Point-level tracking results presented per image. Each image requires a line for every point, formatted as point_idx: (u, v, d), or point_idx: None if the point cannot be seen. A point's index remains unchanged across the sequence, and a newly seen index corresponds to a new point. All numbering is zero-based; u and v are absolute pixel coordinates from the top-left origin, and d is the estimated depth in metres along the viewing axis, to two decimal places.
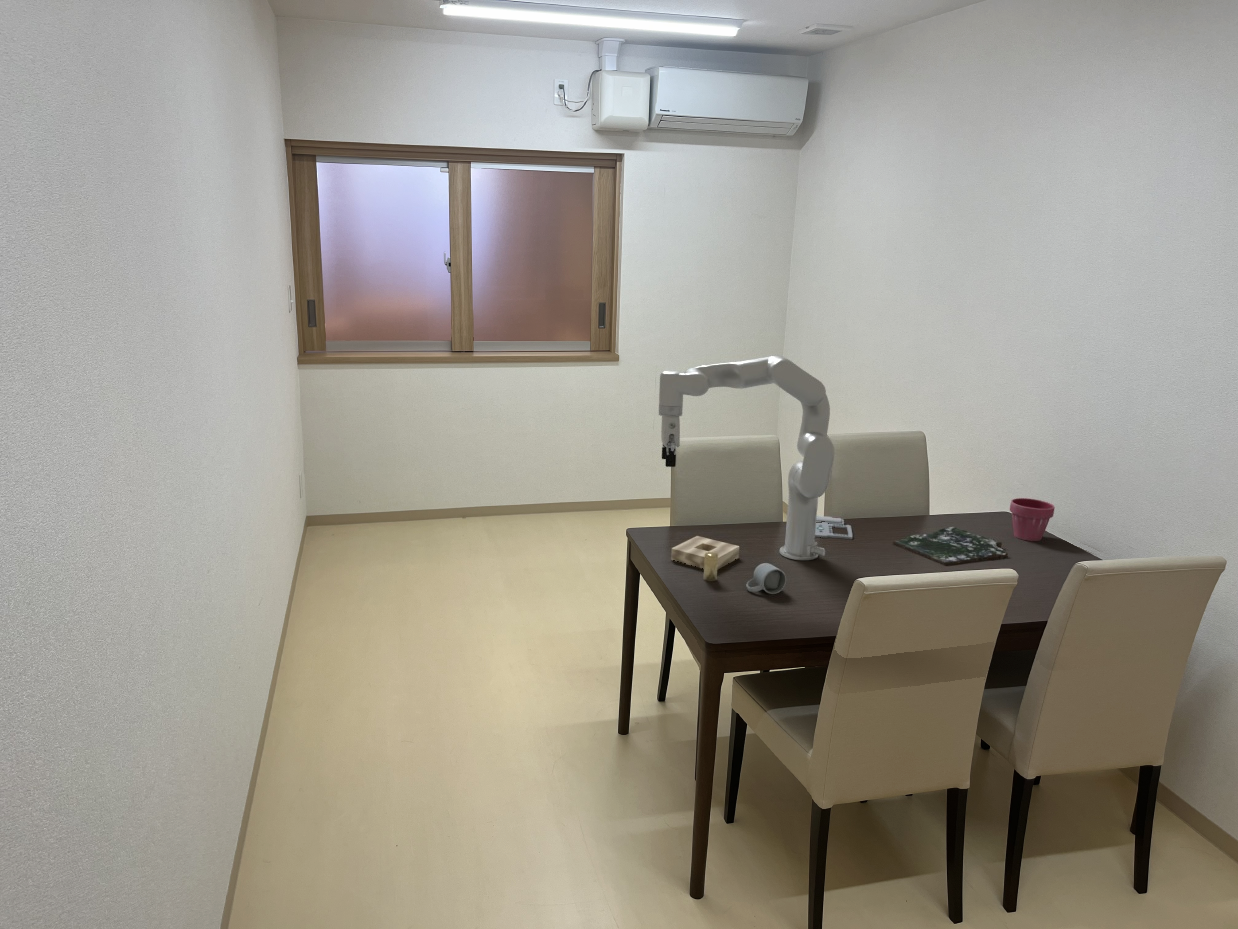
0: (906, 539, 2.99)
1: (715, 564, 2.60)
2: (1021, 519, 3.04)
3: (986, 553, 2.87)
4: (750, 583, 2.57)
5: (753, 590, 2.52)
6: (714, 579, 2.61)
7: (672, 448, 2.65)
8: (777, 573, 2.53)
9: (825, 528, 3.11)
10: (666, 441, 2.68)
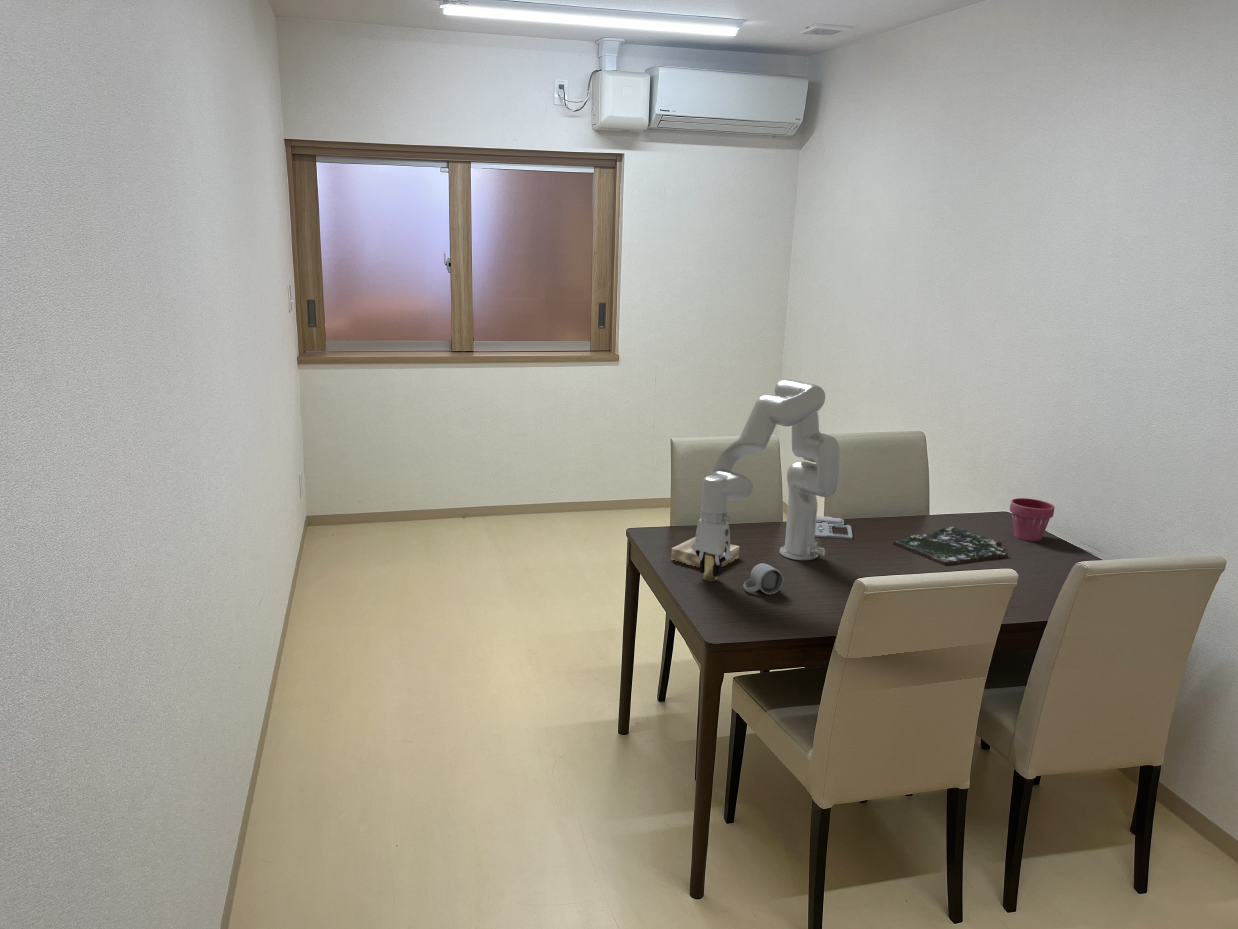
0: (906, 539, 2.99)
1: None
2: (1021, 519, 3.04)
3: (986, 553, 2.87)
4: (747, 583, 2.56)
5: (750, 590, 2.52)
6: (714, 579, 2.61)
7: None
8: (774, 573, 2.53)
9: (825, 528, 3.11)
10: None
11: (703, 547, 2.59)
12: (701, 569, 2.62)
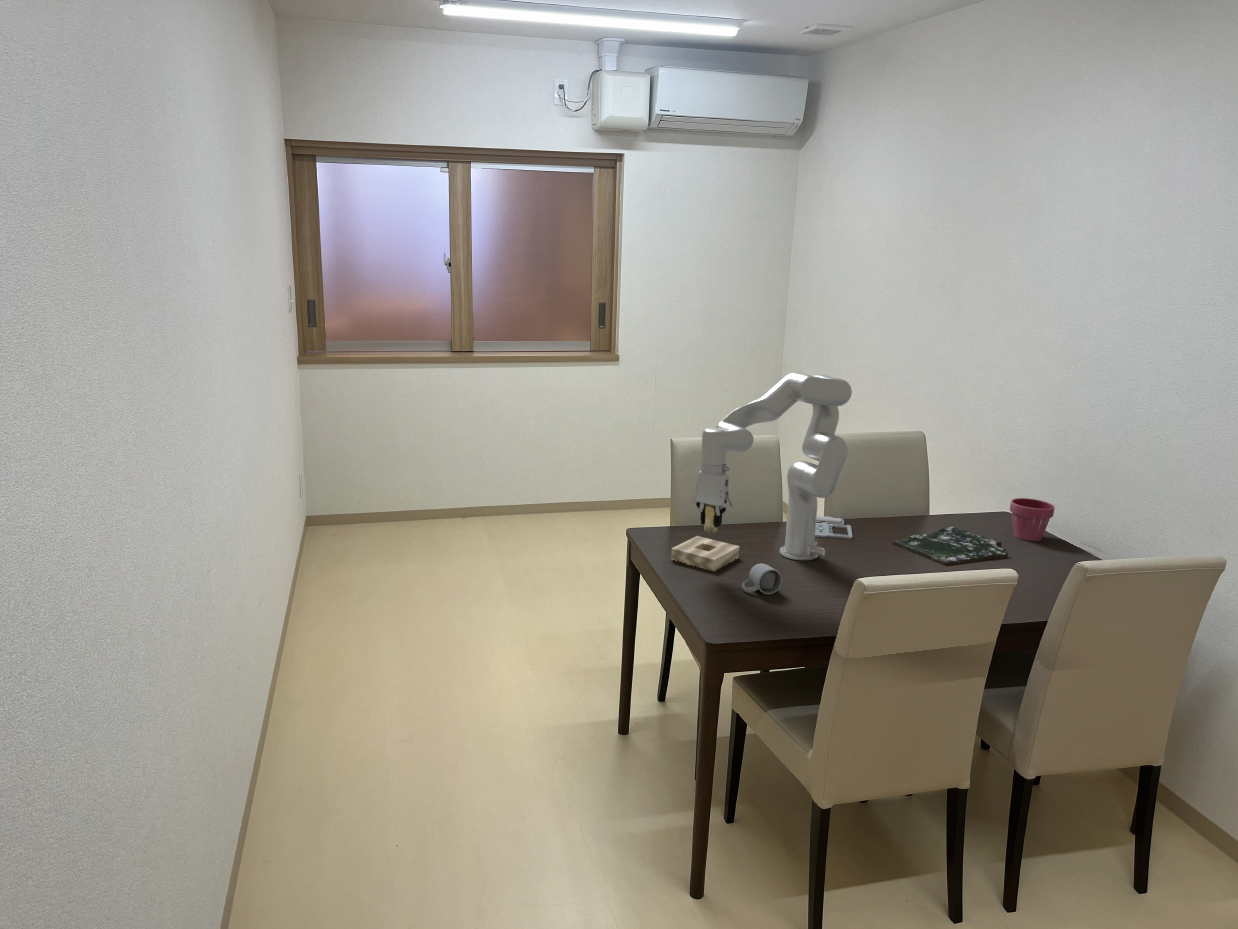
0: (906, 539, 2.99)
1: None
2: (1021, 519, 3.04)
3: (986, 553, 2.87)
4: (746, 583, 2.56)
5: (749, 590, 2.52)
6: (715, 530, 2.66)
7: (727, 509, 2.62)
8: (773, 573, 2.53)
9: (825, 528, 3.11)
10: None
11: (703, 498, 2.64)
12: (702, 520, 2.67)
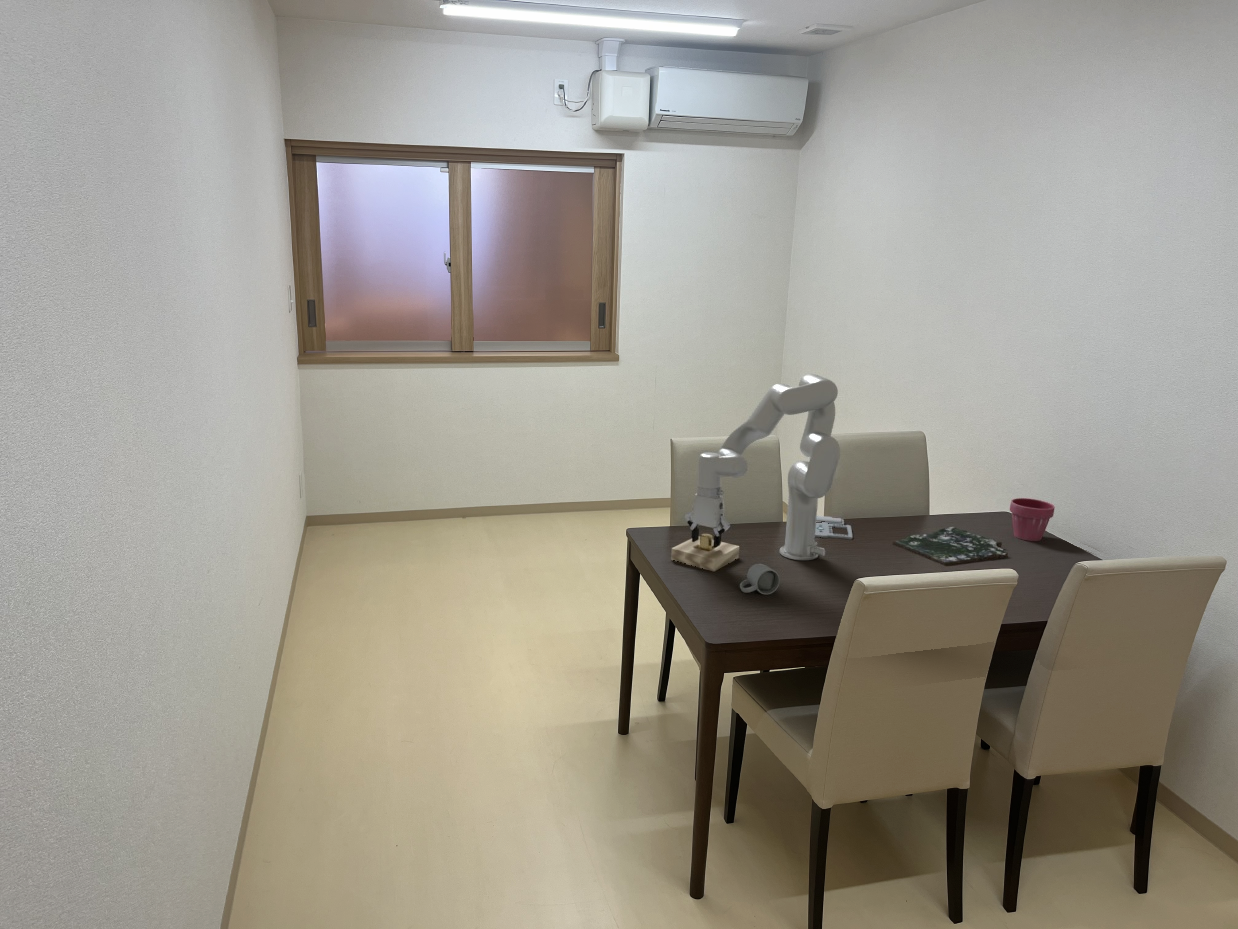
0: (906, 539, 2.99)
1: (710, 545, 2.77)
2: (1021, 519, 3.04)
3: (986, 553, 2.87)
4: (744, 584, 2.56)
5: (746, 591, 2.52)
6: None
7: (726, 529, 2.72)
8: (771, 574, 2.53)
9: (825, 528, 3.11)
10: (717, 523, 2.72)
11: (699, 520, 2.75)
12: (693, 538, 2.79)
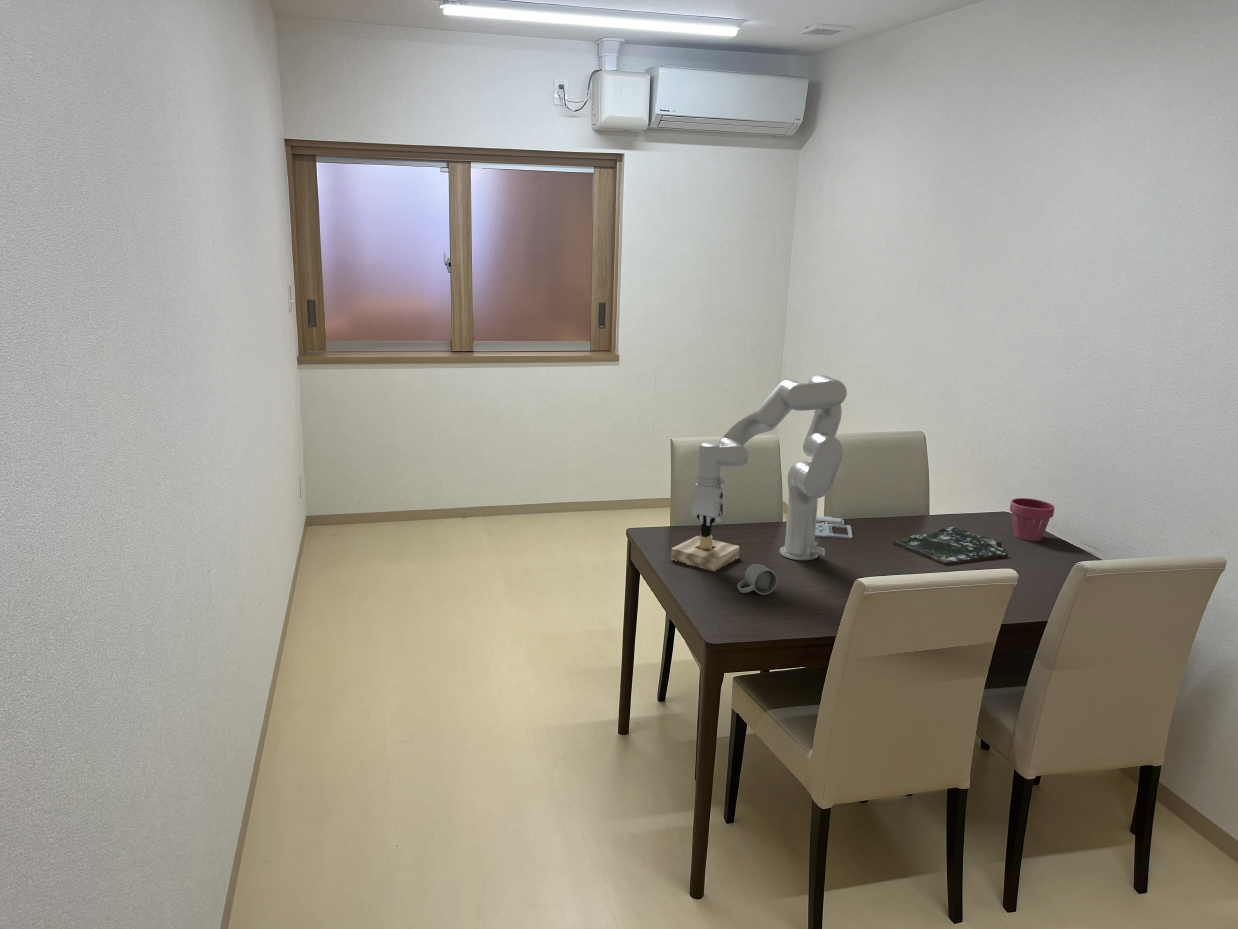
0: (906, 539, 2.99)
1: (710, 545, 2.77)
2: (1021, 519, 3.04)
3: (986, 553, 2.87)
4: (741, 584, 2.56)
5: (744, 591, 2.52)
6: None
7: None
8: (768, 574, 2.52)
9: (825, 528, 3.11)
10: (713, 517, 2.72)
11: (699, 510, 2.74)
12: (702, 532, 2.76)
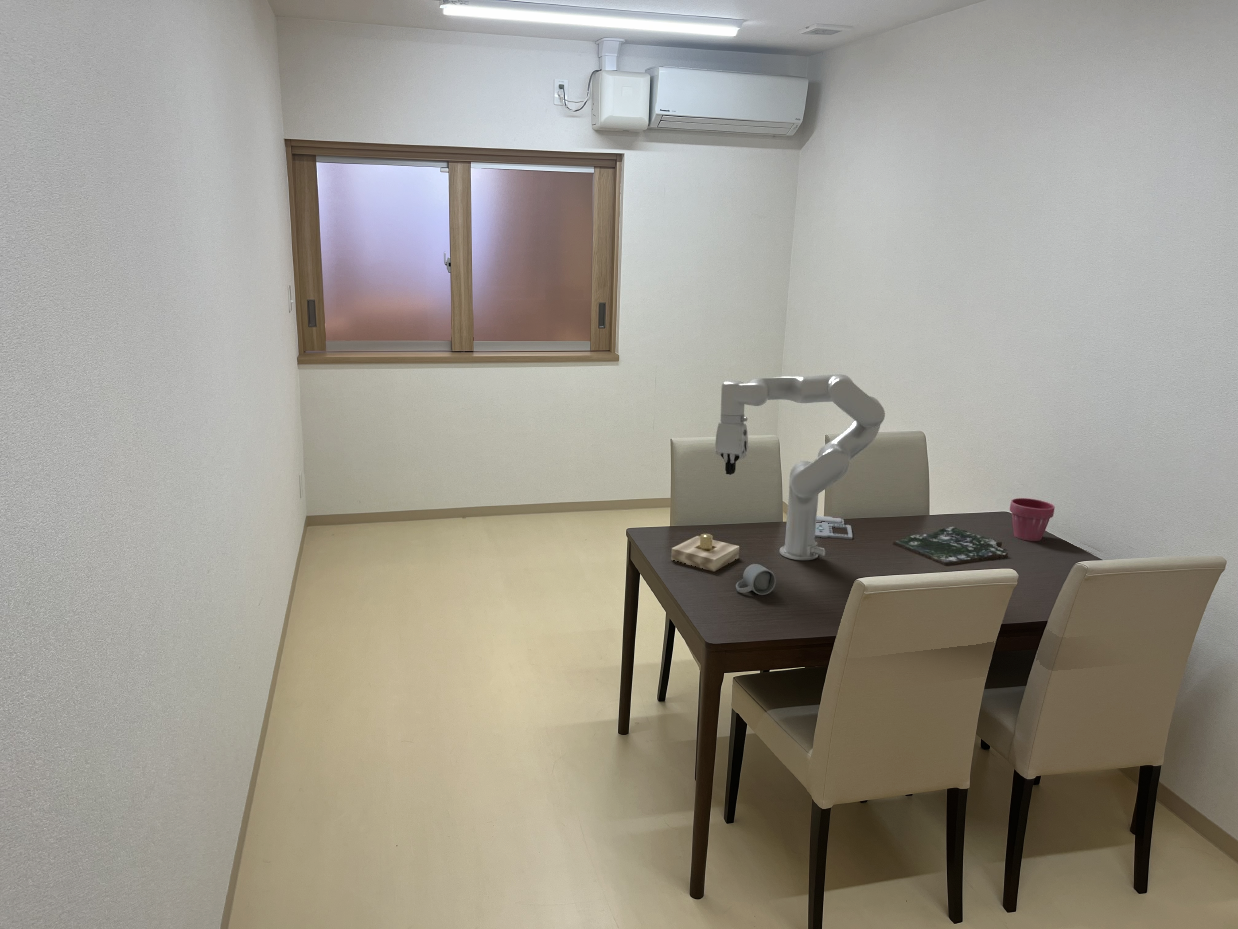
0: (906, 539, 2.99)
1: (710, 545, 2.77)
2: (1021, 519, 3.04)
3: (986, 553, 2.87)
4: (740, 584, 2.56)
5: (742, 591, 2.52)
6: None
7: None
8: (767, 574, 2.52)
9: (825, 528, 3.11)
10: (738, 454, 2.78)
11: (723, 448, 2.80)
12: (727, 470, 2.82)
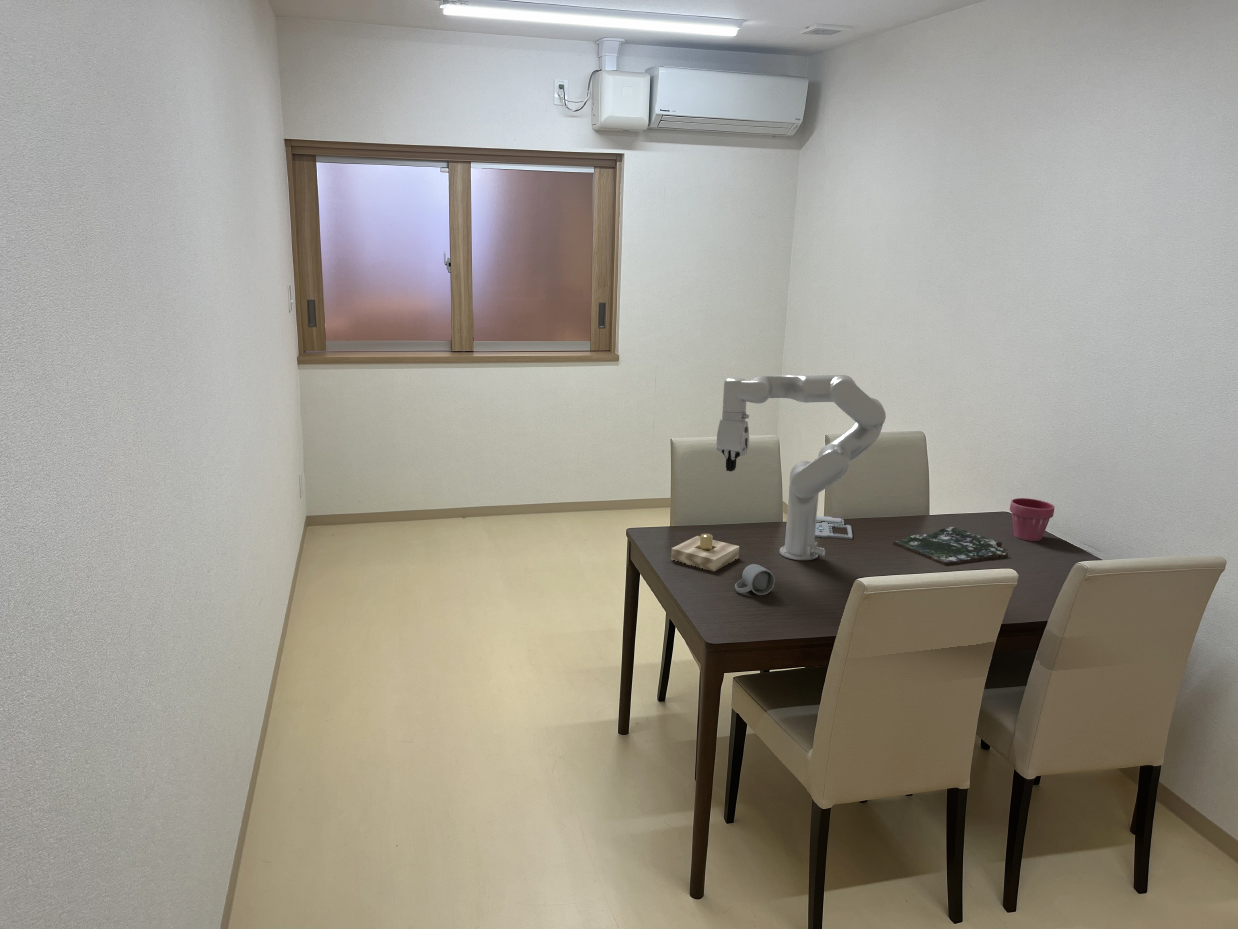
0: (906, 539, 2.99)
1: (710, 545, 2.77)
2: (1021, 519, 3.04)
3: (986, 553, 2.87)
4: (739, 584, 2.56)
5: (741, 591, 2.51)
6: None
7: None
8: (765, 574, 2.52)
9: (825, 528, 3.11)
10: (738, 451, 2.79)
11: (724, 444, 2.81)
12: (727, 467, 2.82)
